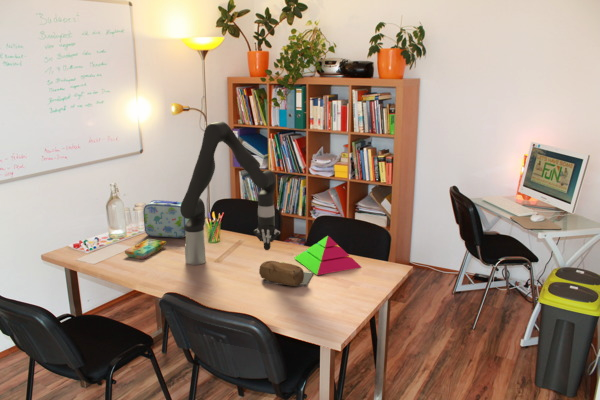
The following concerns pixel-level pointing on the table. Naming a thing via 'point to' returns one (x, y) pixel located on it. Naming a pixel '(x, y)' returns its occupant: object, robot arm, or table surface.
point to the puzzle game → (145, 248)
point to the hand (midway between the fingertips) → (267, 249)
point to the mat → (305, 281)
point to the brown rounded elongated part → (282, 273)
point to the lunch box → (164, 219)
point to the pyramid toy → (326, 258)
